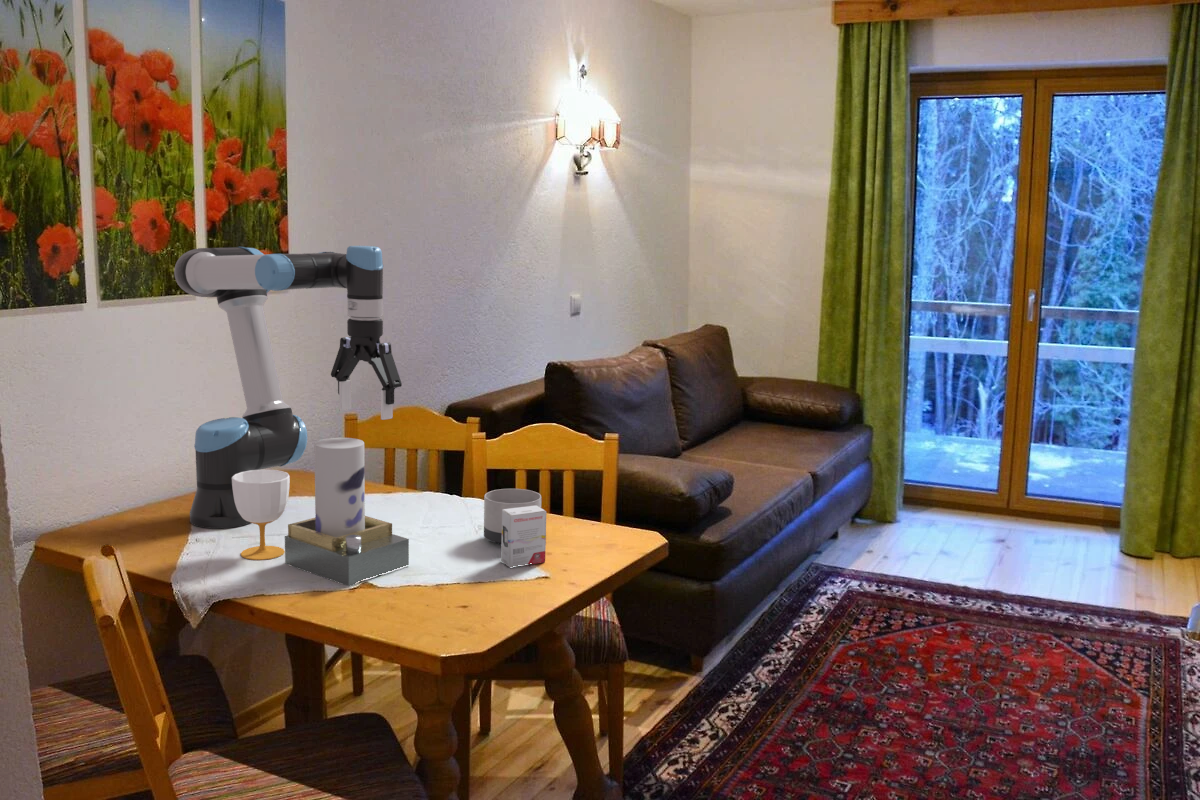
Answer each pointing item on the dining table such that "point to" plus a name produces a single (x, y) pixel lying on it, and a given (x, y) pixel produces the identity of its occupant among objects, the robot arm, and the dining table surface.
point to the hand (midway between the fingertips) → (365, 414)
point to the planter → (504, 500)
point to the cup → (261, 505)
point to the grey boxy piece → (346, 551)
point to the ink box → (523, 535)
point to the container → (339, 486)
